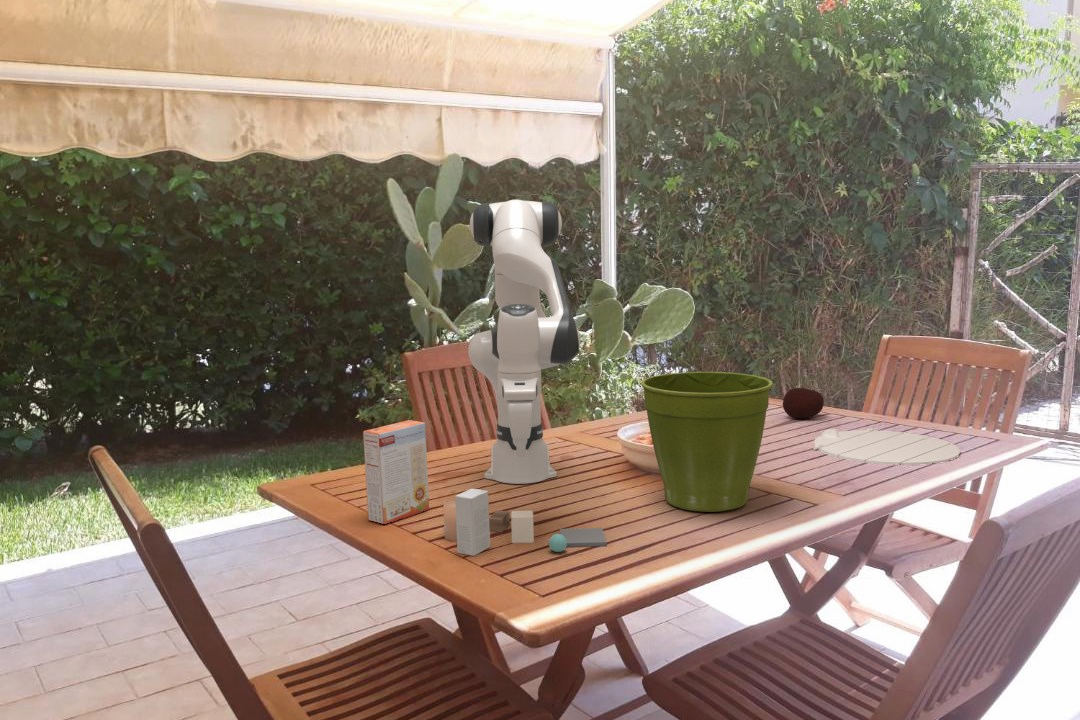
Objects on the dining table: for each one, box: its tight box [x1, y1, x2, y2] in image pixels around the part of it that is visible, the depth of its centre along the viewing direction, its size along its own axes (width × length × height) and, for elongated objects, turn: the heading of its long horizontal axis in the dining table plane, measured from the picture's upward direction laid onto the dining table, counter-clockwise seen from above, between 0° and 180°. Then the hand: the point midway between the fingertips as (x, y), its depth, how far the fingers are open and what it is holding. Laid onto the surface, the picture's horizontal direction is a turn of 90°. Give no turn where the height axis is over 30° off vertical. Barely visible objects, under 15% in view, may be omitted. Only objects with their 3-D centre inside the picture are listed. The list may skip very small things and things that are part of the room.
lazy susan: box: [813, 427, 961, 466], centre depth 266 cm, size 40×39×3 cm
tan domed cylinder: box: [443, 499, 457, 543], centre depth 195 cm, size 7×7×7 cm
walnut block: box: [489, 509, 511, 533], centre depth 201 cm, size 6×3×3 cm, turn 166°
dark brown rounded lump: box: [782, 387, 825, 420], centre depth 306 cm, size 11×13×10 cm
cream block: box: [510, 510, 535, 544], centre depth 193 cm, size 4×4×6 cm
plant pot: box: [640, 371, 773, 513], centre depth 215 cm, size 30×30×29 cm
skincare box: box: [454, 488, 491, 557], centre depth 186 cm, size 6×4×12 cm
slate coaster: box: [559, 527, 607, 548], centre depth 192 cm, size 9×9×1 cm
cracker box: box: [362, 419, 430, 525], centre depth 209 cm, size 14×6×21 cm, turn 141°
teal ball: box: [548, 533, 567, 553], centre depth 185 cm, size 4×4×4 cm
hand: (520, 451), depth 190 cm, fingers open, 8 cm apart
